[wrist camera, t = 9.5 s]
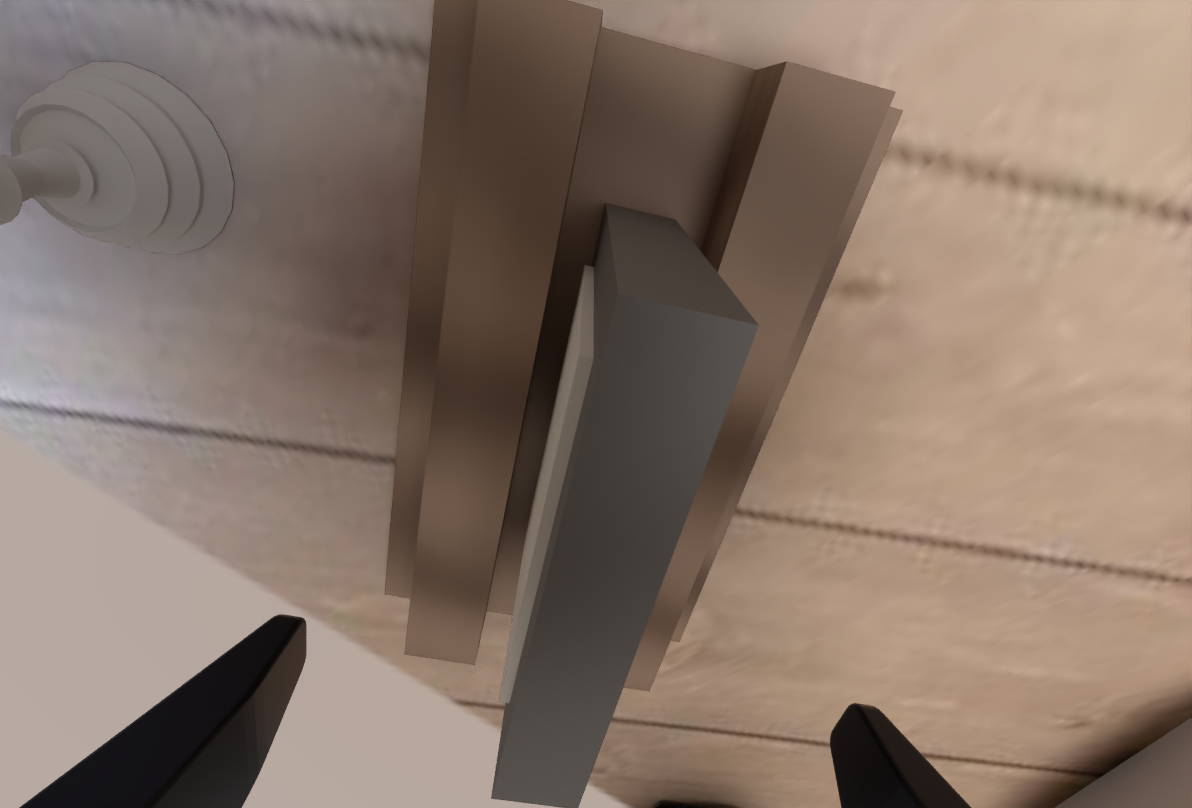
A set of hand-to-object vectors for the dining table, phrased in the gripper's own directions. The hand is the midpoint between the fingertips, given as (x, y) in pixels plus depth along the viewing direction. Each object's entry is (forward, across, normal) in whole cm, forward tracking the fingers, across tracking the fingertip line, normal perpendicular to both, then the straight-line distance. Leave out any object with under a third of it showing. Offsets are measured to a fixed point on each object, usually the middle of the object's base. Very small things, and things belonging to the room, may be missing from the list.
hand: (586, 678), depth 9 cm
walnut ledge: (+11, 0, 0) cm, 11 cm away
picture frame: (+10, 0, 0) cm, 10 cm away
